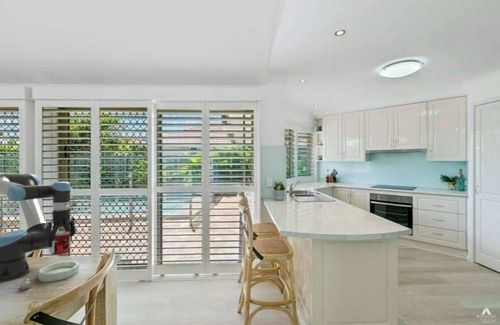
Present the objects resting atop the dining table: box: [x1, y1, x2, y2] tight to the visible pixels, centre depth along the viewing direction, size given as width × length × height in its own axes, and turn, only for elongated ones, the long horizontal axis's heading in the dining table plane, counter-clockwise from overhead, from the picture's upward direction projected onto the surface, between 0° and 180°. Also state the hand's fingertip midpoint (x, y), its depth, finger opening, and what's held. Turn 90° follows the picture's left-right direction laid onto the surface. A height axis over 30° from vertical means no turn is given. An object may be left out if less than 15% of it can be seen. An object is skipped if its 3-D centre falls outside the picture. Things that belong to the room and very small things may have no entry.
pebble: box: [20, 281, 32, 290], centre depth 116 cm, size 4×4×4 cm
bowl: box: [38, 260, 80, 283], centre depth 131 cm, size 17×17×4 cm
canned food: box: [50, 230, 70, 256], centre depth 132 cm, size 8×8×11 cm
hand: (60, 250), depth 131 cm, fingers closed on canned food, 8 cm apart
